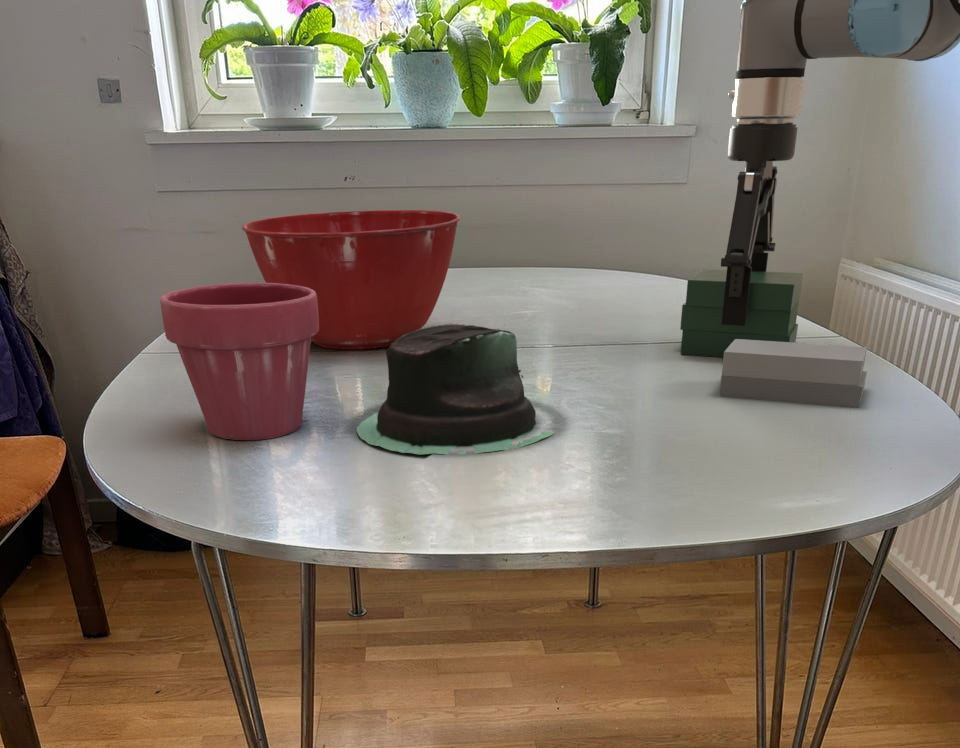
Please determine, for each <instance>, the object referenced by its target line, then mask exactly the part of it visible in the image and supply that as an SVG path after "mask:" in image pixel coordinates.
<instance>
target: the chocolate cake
mask: <svg viewBox="0 0 960 748" xmlns="http://www.w3.org/2000/svg"><path fill="white" fill-rule="evenodd" d="M517 344H518V342H517V337H516V334H515V333H514V332H512V331H509V330H505V329H500V328H499V327H496V328H488V327H484V326H477V325H473V324H472V325H471V324H469V325H466V324H463V323H462V324H459V323H452V322H451V323H446V324H439V325H438V324H437V325H430V326H428V327H422V328H421V329H420V330H416V331H414V332H410V333H408V334H406V335H403V336H401V337H400V338H398V339H397V340H396V341H395V342H393V343H391V346H388V347H387V349H386V352H385V354H386V362H387V369H388V370H387V371H388V387H387V390H386V399H385V401H384V402H383V403H382V404H381V406H380V409H379V410H378V412H376V413H374V414H372V415H371V416H368V417H367V418H365V419H364V420H362V421H361V422H360V423H359V424H358V425H357V427H356V433H357V436H358V437H359V438H360V439H361V440H363V441H365V442H366V443H367V444H368V445H372V446H377V447H381V448H383V449H385V450H388V451H391V452H399V453H402V454H407V453H408V454H414V455H419V456H421V455H430V454H432V455H433V454H436V455H437V454H439V455H449V454H450V452H451V450H453V449H455V448H459V447H473V448H474V449H473V451H474V452H473V454H474V455H477V454H482V453H488V452H489V453H490V452H497V451H508V449H509V450H514V449H516V448H519V449H520V448H522V447H525V446H528V445H531V444H534V443H536V442H538V441H541V440H543V439H546V438H549V437H551V436H552V435H555V432H554V431H551V430H549V431H546V430H545V431H541V434H540V435H538V436H533V437H530V438H528V439H524V440H523V441H521V442H520V441H519V442H517V444H513V440H515V439H522V438H523V437H525V436H526V435H527V434H528V435H529V433H531V432H532V431H534V429H535V426H536V425H537V420H536V416H537V415H536V409H535V407H534V406H533V404H532V402H531V401H530V400H529V399H528V398H527V396H525V388H524V383H523V380H522V379H523V378H524V375H523V374H520V373H521V372H522V370H521V369H519V365H518V351H517V350H518V346H517ZM456 455H467V452H466V450H464V449H462V450H460V451H458V452H457V453H456Z"/></svg>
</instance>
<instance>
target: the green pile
mask: <svg viewBox="0 0 960 748" xmlns="http://www.w3.org/2000/svg"><path fill="white" fill-rule="evenodd" d="M799 302H800V299H799V300H798V301H797V303H796V304H795V305H794V307H793V308H792V310H791V311H779V310H760V309H747V315H746V323H745V326H738V325H721V324H722V314H723V308H722V307H703V306H686V302H684V303H682V305H681V316H680V317H681V318H680V328H679V329H680V331H682V333H681V343H680V344H681V345H680V355H681V356H683V355H684V356H697V357H698V356H699V357H712V358H724V351H725V350H726V349H727V348H728V347H729V346H730V345H731V343H732V342H733V341H734V340H735V339H745V340H761V341H776V342H792V343H797V335H798V328H799V323H797V318H798V311H799V304H800V303H799Z"/></svg>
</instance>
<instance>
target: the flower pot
mask: <svg viewBox="0 0 960 748" xmlns="http://www.w3.org/2000/svg"><path fill="white" fill-rule="evenodd" d="M159 302H160V311H161V317H162V318H161V319H162V324H163V330H164V334H165V335H164V336H165V338H166V340H168V342H170V343H172V344H175V345H176V347H177V350H178V353H179V355H180V358H181V361H182V363H183V366H184V370H185V371H186V374H187V377H188V379H189V382H190V384H191V387H192V389H193V393H194V394H195V398H196V400H197V402H198V405H199V407H200V410H201V413H202V416H203V418H204V421H205V424H206V426H207V429H208V432H209V433H210V434H211V435H213V436H215V437H217V438H220V439H221V438H222V439H226V440H235V441H258V440H259V441H260V440H267V439H274V438H278V437H282V436H286V435H288V434H291V433H294V432H295V431H297V430H299V428H300V427H301V425H302V423H303V413H304V406H305V405H304V404H305V396H306V387H307V379H308V378H307V377H308V370H309V359H310V350H311V342H312V341H311V337H312V336H314V335H316V334H317V333H318V331H319V316H318V304H317V295H316V292H315V291H314V290H312V289H310V288H307V287H303V286H297V285H290V284H278V283H266V282H232V283H217V284H210V285H200V286H194V287H188V288H183V289H178V290H177V289H176V290H174V291H170V292H167V293H165V294H163V295H162V296H160V299H159Z"/></svg>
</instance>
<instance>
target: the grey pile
mask: <svg viewBox="0 0 960 748" xmlns="http://www.w3.org/2000/svg"><path fill="white" fill-rule="evenodd" d="M867 349H868V347H867V346H856V345H855V346H852V345H841V344H839V345H837V344H825V343H824V344H823V343H807V342H796V343H792V342H776V341H761V340H745V339H735V340H734V341H733V342H732V343H731V345H730V346H729V347H728V348H727V349H726V350H725V351H724V357H722V358H723V359H722V368H721V376H720V385H719V386H720V387H719V395H718V396H719V397H726V398H738V399H750V400H764V401H774V402H784V403H785V402H787V403H797V404H798V403H799V404H809V405H810V404H811V405H820V406H821V405H822V406H832V407H846V408H857V409H859V408H860V406H861V402H862V397H863V394H864V390H865V384H866V378H867V372H868V371H865V370H864V366H865V361H866V355H867V351H868V350H867Z"/></svg>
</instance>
